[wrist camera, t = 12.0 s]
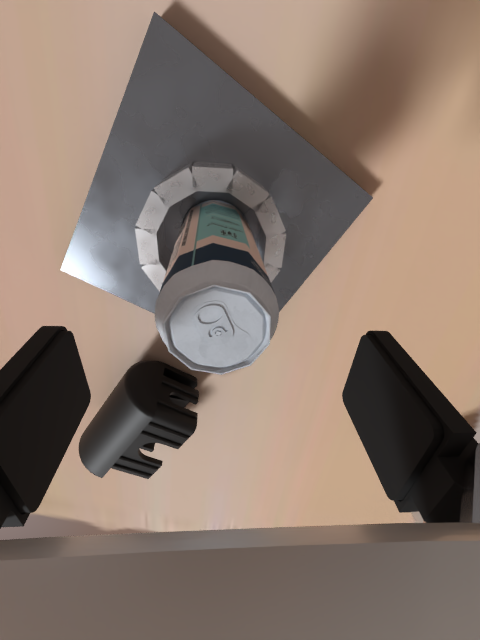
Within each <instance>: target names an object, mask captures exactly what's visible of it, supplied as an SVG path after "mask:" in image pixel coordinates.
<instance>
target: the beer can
mask: <svg viewBox="0 0 480 640" xmlns="http://www.w3.org/2000/svg"><path fill="white" fill-rule="evenodd" d="M278 317H279V309H278V303H277V298H276V295H275V293H274V290H273V288H272V285H271V282H270V280H269V277H268V274H267V272H266V269H265V267H264V264H263V261H262V259H261V256H260V254H259V251H258V248H257V246H256V243H255V240H254V238H253V235H252V233H251V230H250V227H249V225H248V223H247V220H246V218H245V217H244V215H243V214H242V213H241V212H240V211H239V210H238V209H237V208H236V207H235V206H233V205H232V204H230V203H227V202H224V201H220V200H209V201H205V202H202V203H200V204H198V205H196V206H194V207H193V208H191V209H190V210H189V212H188V213H187V214H186V216H185V218H184V220H183V222H182V224H181V228H180V231H179V234H178V237H177V240H176V243H175V246H174V249H173V252H172V256H171V259H170V262H169V265H168V268H167V271H166V274H165V277H164V280H163V283H162V286H161V290H160V293H159V296H158V298H157V301H156V305H155V321H156V327H157V329H158V331H159V333H160V336H161V338H162V340H163V342H164V343H165V345H166V346H167V347H168V351H169V352H170V353H171V354H172V355H174V356H175V357H176V358H177V359H179V360H180V361H181V362H182V363H184V364H185V365H186V366H187V367H188V368H190V369H191V370H196V371H202V372H209V373H215V374H221V375H222V374H225V373H228V372H231V371H234V370H238V369H241V368H244V367H247V366H250V365H251V364H252V363H253V362H254V361H255V360H256V359H257V358H258V357H259V355H260V354H261V353H262V352H263V351H264V350H265V349H266V348H267V346H268V345H269V344H270V340H271V338H272V337H273V335H274V333H275V330H276V328H277V323H278Z"/></svg>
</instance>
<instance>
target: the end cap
mask: <svg viewBox="0 0 480 640" xmlns="http://www.w3.org/2000/svg"><path fill="white" fill-rule="evenodd" d="M196 386H197V379H196V378H195V377H194V376H191V375H189V374H187V373H185V372H183V371H181V370H179V369H176V368H174V367H172V366H170V365H168V364H166V363H162V362H159V361H156V362H155V361H142V362H139V363H136V364H134V365H133V366H131V367H130V368H129V369H128V370H127V372H126V373H125V375H124V376H123V377H122V379H121V380H120V382H119V383H118V385H117V386H116V387H115V389H114V390H113V392H112V393H111V394H110V396H109V397H108V399H107V400H106V401H105V403H104V404H103V406H102V407H101V408H100V410H99V411H98V413H97V414H96V416H95V417H94V418H93V420H92V421H91V423H90V424H89V425H88V427H87V428H86V430H85V431H84V433H83V434H82V436H81V439H80V442H79V455H80V458H81V461H82V463H83V464H84V466H85V467H86V468H87V469H88V470H89V471H90V472H91V473H93V474H94V475H96V476H98V477H101V478H103V476H104V475H105V474H106V473H107V472H108V471H109V469H110V468H112V469H116V470H119V471H123V472H126V473H130V474H133V475H136V476H140V477H143V478H147V479H149V478H150V477H151V476H152V475H153V474H154V473H155V472H156V471H157V470H158V469H159V468H160V467H161V466H162V461H161V460H158V459H155V458H151V457H148V456H146V455H144V454H143V453H141V451H140V450H139V448H141V449H144V450H147V451H150V452H152V451H153V450H154V445H155V443H161V444H164V445H167V446H170V447H173V448H176V449H179V448H180V447H181V446H182V444H183V443H184V442H185V441H186V440H187V439H188V438H189V437H190V436H191V435H192V434H193V433H194V431H195V429H196V426H197V413H196V412H193V411H191V410H188V409H186V408H184V407H185V406H186V405H187V404H188V403H189V402H191V403H193V404H197V403H198V397H199V391H198V390H195V387H196Z"/></svg>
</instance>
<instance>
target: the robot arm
mask: <svg viewBox="0 0 480 640" xmlns="http://www.w3.org/2000/svg"><path fill="white" fill-rule="evenodd" d="M342 397H343V402H344V405H345V407H346V409H347V411H348V413H349V415H350V418H351V420H352V422H353V424H354V426H355V428H356V430H357V432H358V435H359V437H360V439H361V441H362V443H363V445H364V447H365V450H366V452H367V454H368V456H369V458H370V460H371V462H372V465H373V467H374V469H375V471H376V473H377V475H378V477H379V480H380V482H381V484H382V486H383V488H384V490H385V492H386V494H387V496H388V497H389V499H391V500H394V502H395V504H396V506H397V508H398V510H399V512H411V514H412V516H413V518H414V520H415V522H416V523H393V524H364V525H335V526H306V527H279V528H253V529H228V530H203V531H178V532H154V533H132V534H110V535H88V536H67V537H45V538H29V539H14V540H13V539H12V540H0V640H480V443H479V444H478V443H477V441H476V440H475V439H474V438H473V437H474V436H475V434H476V432H475V431H474V429H473V428H472V427H471V426H470V425H469V424H468V423H467V421H466V420H465V419H464V418H463V417H462V416H461V414H460V413H459V412H458V411H457V410H456V409H455V408H454V406H453V405H452V404H451V403H450V402H449V401H448V400H447V398H446V397H445V396H444V395H443V394H442V393H441V391H440V390H439V389H438V388H437V387H436V386H435V385H434V383H433V382H432V381H431V380H430V379H429V378H428V377H427V375H426V374H425V373H424V372H423V371H422V370H421V368H420V367H419V366H418V365H417V364H416V363H415V362H414V360H413V359H412V358H411V357H410V356H409V355H408V354H407V352H406V351H405V350H404V349H403V348H402V347H401V345H400V344H399V343H398V342H397V341H396V340H395V339H394V337H393V336H392V335H391V334H390V333H389V332H388V331H368V332H367V333H366V335H363V336H362V337H361V339H360V342H359V345H358V348H357V351H356V354H355V357H354V360H353V363H352V366H351V369H350V372H349V375H348V378H347V381H346V384H345V387H344V390H343V395H342ZM90 399H91V394H90V390H89V386H88V383H87V380H86V376H85V373H84V369H83V366H82V363H81V359H80V356H79V352H78V349H77V346H76V342H75V339H74V336H73V333H72V332H71V331H67V329H66V328H65V327H63V326H42V327H41V328H40V329H39V330H38V331H37V332H36V333H35V334H34V335H33V336H32V337H31V338H30V339H29V340H28V341H27V342H26V343H25V344H24V345H23V346H22V348H21V349H20V350H19V351H18V352H17V353H16V354H15V355H14V356H13V357H12V358H11V359H10V360H9V361H8V362H7V363H6V364H5V366H4V367H3V368H2V369H1V370H0V528H1V527H18V526H24V524H25V522H26V520H27V518H28V516H29V514H30V513H31V512H34V511H36V510H37V508H38V507H39V505H40V503H41V501H42V499H43V497H44V495H45V493H46V491H47V489H48V487H49V485H50V483H51V481H52V479H53V477H54V475H55V473H56V471H57V469H58V467H59V465H60V463H61V461H62V459H63V457H64V455H65V452H66V450H67V448H68V446H69V444H70V442H71V440H72V438H73V436H74V434H75V432H76V430H77V428H78V426H79V424H80V422H81V420H82V418H83V416H84V414H85V412H86V410H87V408H88V406H89V403H90Z"/></svg>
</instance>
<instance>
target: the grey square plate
mask: <svg viewBox="0 0 480 640" xmlns="http://www.w3.org/2000/svg"><path fill="white" fill-rule="evenodd" d="M372 199H373V197H372V196H370V195H369V194H368V193H367V192H366V191H365V190H363V189H362V188H361V187H360V186H359V185H357V184H356V183H355V182H354V181H353V180H352V179H350V178H349V177H348V176H347V175H346V174H345V173H343V172H342V171H341V170H340V169H339V168H338V167H336V166H335V165H334V164H333V163H332V162H330V161H329V160H328V159H327V158H326V157H325V156H323V155H322V154H321V153H320V152H319V151H318V150H316V149H315V148H314V147H313V146H312V145H311V144H309V143H308V142H307V141H306V140H305V139H303V138H302V137H301V136H300V135H299V134H298V133H296V132H295V131H294V130H293V129H292V128H291V127H289V126H288V125H287V124H286V123H285V122H283V121H282V120H281V119H280V118H279V117H278V116H276V115H275V114H274V113H273V112H272V111H271V110H269V109H268V108H267V107H266V106H265V105H264V104H262V103H261V102H260V101H259V100H258V99H256V98H255V97H254V96H253V95H252V94H251V93H249V92H248V91H247V90H246V89H245V88H244V87H242V86H241V85H240V84H239V83H238V82H237V81H235V80H234V79H233V78H232V77H231V76H229V75H228V74H227V73H226V72H225V71H224V70H222V69H221V68H220V67H219V66H218V65H217V64H215V63H214V62H213V61H212V60H211V59H209V58H208V57H207V56H206V55H205V54H204V53H202V52H201V51H200V50H199V49H198V48H197V47H195V46H194V45H193V44H192V43H191V42H190V41H188V40H187V39H186V38H185V37H184V36H182V35H181V34H180V33H179V32H178V31H177V30H175V29H174V28H173V27H172V26H171V25H170V24H168V23H167V22H166V21H165V20H164V19H162V18H161V17H160V16H159V15H158V14H157V13H155V12H154V14H153V16H152V19H151V22H150V25H149V27H148V30H147V33H146V36H145V38H144V41H143V44H142V47H141V49H140V52H139V55H138V58H137V61H136V63H135V66H134V69H133V72H132V74H131V77H130V80H129V83H128V85H127V88H126V91H125V94H124V96H123V99H122V102H121V105H120V107H119V110H118V113H117V116H116V118H115V121H114V124H113V127H112V129H111V132H110V135H109V138H108V140H107V143H106V146H105V149H104V151H103V154H102V157H101V160H100V162H99V165H98V168H97V171H96V173H95V176H94V179H93V182H92V184H91V187H90V190H89V193H88V195H87V198H86V201H85V204H84V206H83V209H82V212H81V215H80V217H79V220H78V223H77V226H76V228H75V231H74V234H73V237H72V239H71V242H70V245H69V248H68V250H67V253H66V256H65V259H64V261H63V264H62V267H61V270H62V271H64V272H66V273H68V274H70V275H72V276H75V277H77V278H79V279H81V280H83V281H85V282H88V283H90V284H92V285H94V286H96V287H98V288H100V289H103V290H105V291H107V292H109V293H111V294H113V295H116V296H118V297H120V298H122V299H124V300H126V301H129V302H131V303H133V304H135V305H137V306H139V307H141V308H144V309H146V310H148V311H150V312H152V313H154V314H155V305H156V301H157V298H158V296H159V293H160V290H161V286H162V283H163V280H164V277H165V274H166V271H167V268H168V265H169V262H170V259H171V256H172V252H173V249H174V246H175V243H176V240H177V237H178V234H179V231H180V228H181V224H182V222H183V220H184V218H185V216H186V214H187V213H188V212H189V210H190V209H191V208H193V207H194V206H196V205H198V204H200V203H202V202H205V201H209V200H220V201H224V202H227V203H230V204H232V205H233V206H235V207H236V208H237V209H238V210H239V211H240V212H241V213H242V214H243V215H244V217H245V218H246V220H247V223H248V225H249V227H250V230H251V233H252V235H253V238H254V240H255V243H256V246H257V248H258V251H259V254H260V256H261V259H262V261H263V264H264V267H265V269H266V272H267V274H268V277H269V280H270V282H271V285H272V288H273V290H274V293H275V295H276V298H277V303H278V309H279V312H280V310H281V309H282V308H283V307H284V306H285V304H286V303H287V302H288V301H289V300H290V298H291V297H292V296H293V295H294V293H295V292H296V291H297V290H298V289H299V287H300V286H301V285H302V284H303V283H304V281H305V280H306V279H307V278H308V276H309V275H310V274H311V273H312V272H313V270H314V269H315V268H316V267H317V265H318V264H319V263H320V262H321V261H322V259H323V258H324V257H325V256H326V255H327V253H328V252H329V251H330V250H331V248H332V247H333V246H334V245H335V244H336V242H337V241H338V240H339V239H340V237H341V236H342V235H343V234H344V233H345V231H346V230H347V229H348V228H349V227H350V225H351V224H352V223H353V222H354V220H355V219H356V218H357V217H358V216H359V214H360V213H361V212H362V211H363V210H364V208H365V207H366V206H367V205H368V203H369V202H370V201H371V200H372Z"/></svg>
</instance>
